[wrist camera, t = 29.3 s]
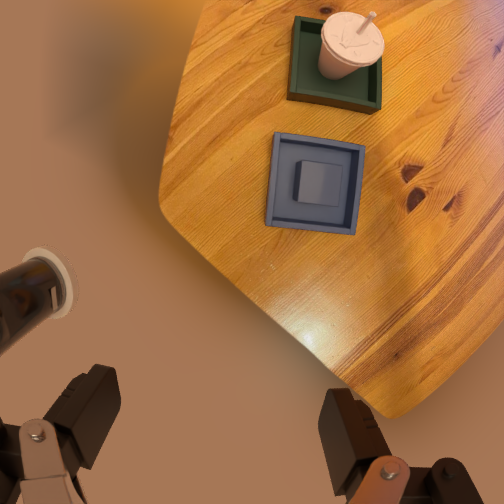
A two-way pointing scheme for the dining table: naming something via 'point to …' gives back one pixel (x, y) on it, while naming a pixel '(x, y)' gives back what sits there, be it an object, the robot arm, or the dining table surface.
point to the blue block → (317, 183)
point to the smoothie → (348, 44)
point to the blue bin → (282, 183)
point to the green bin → (321, 88)
